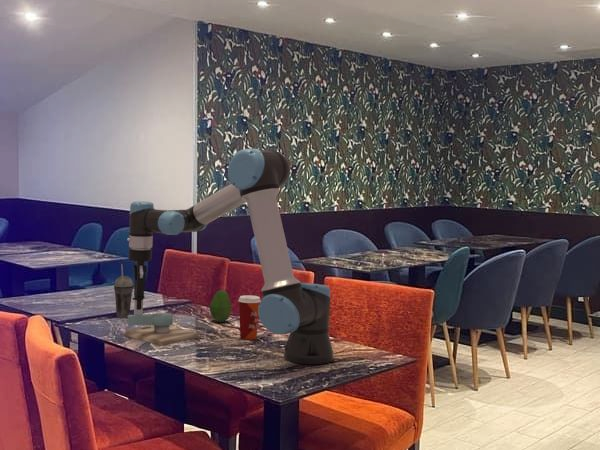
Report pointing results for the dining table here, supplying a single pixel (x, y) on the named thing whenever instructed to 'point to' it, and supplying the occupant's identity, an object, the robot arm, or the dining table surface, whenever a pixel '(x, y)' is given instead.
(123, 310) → the beverage cup
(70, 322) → the dining table surface
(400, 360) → the dining table surface
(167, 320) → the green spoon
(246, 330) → the paper cup
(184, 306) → the dining table surface
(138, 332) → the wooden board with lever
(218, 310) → the avocado
